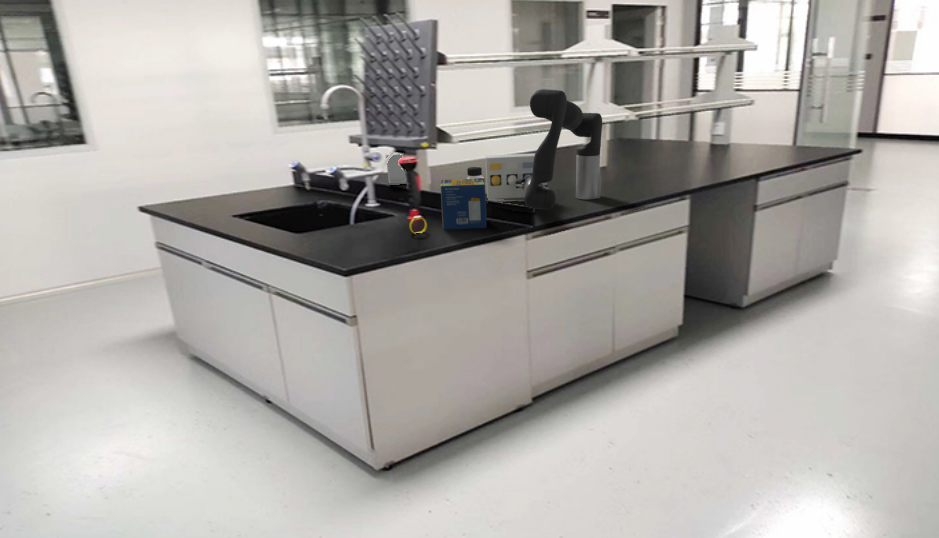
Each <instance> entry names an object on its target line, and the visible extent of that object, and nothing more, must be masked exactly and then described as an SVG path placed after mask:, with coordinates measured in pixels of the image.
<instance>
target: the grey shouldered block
mask: <svg viewBox="0 0 939 538" xmlns="http://www.w3.org/2000/svg"><path fill="white" fill-rule="evenodd" d="M390 153H391V152H389V153H385V159H386V158H387V157H388V156H389V155H390ZM394 153H395V154H394V155H393V156H392V157H391V158H390V159H389V161H388V163H386V169H387V178H388V179H387V180H388V184H389V183H405V182H406V180H407V176H406V177H405V172H404V171H403V170H402V169H401V167H400V166H399V165H398V160H399V159H400V158H402V155H400V154H397V153H398V152H394Z"/></svg>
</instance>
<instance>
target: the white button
mask: <svg viewBox="0 0 939 538" xmlns="http://www.w3.org/2000/svg"><path fill="white" fill-rule="evenodd" d="M507 180H508V183H509V184H510V185H512V186H514V185H515V184H516V183H515V182H516V181H517V178H516V176H515V175H513V174H511V175H509V176H508V178H507Z"/></svg>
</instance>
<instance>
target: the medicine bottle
mask: <svg viewBox="0 0 939 538" xmlns="http://www.w3.org/2000/svg"><path fill="white" fill-rule="evenodd" d="M482 173H483V172H482V167H480V166H478V165H477V166H476V165H475V166H470V167H468V168H467V178H466V179H476V178H484V183H486V182H485V180H486V179H485V178H486V177H484V176H483V174H482Z"/></svg>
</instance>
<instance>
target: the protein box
mask: <svg viewBox="0 0 939 538" xmlns="http://www.w3.org/2000/svg"><path fill="white" fill-rule="evenodd" d="M484 178H485V177H484ZM484 178H476V179H467V178H461V179H460V178H458V179H442V180H441V182H440V199H441V201H440V202H441V217H442V219H441V220H442V230H443V229H445V230H468V229H470V230H472V229H486V228H487V196H486V184H485V183H486V182H485V183H484Z"/></svg>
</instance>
